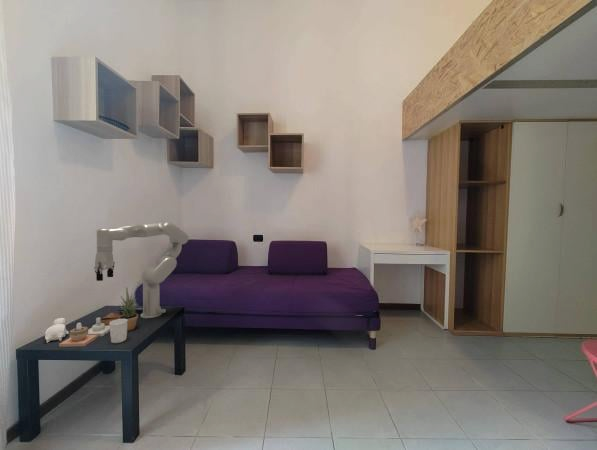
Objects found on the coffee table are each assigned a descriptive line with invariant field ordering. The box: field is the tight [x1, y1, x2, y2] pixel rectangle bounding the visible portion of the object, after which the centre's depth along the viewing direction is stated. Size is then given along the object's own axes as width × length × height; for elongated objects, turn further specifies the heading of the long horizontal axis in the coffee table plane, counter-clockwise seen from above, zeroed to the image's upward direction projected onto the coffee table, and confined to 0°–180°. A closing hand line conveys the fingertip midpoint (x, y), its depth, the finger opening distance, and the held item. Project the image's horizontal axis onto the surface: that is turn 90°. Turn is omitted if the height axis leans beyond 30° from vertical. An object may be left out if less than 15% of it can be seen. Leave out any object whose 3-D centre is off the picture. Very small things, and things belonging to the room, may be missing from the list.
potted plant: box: [119, 286, 139, 332], centre depth 158 cm, size 10×10×25 cm
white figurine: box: [44, 317, 70, 344], centre depth 147 cm, size 9×8×15 cm
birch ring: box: [69, 326, 89, 338], centre depth 141 cm, size 7×7×3 cm
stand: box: [87, 317, 110, 337], centre depth 153 cm, size 11×11×8 cm
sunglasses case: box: [94, 311, 123, 326], centre depth 169 cm, size 18×7×7 cm
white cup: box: [109, 319, 128, 344], centre depth 144 cm, size 8×8×10 cm
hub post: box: [58, 322, 99, 348], centre depth 141 cm, size 12×10×10 cm
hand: (105, 278), depth 161 cm, fingers open, 9 cm apart
